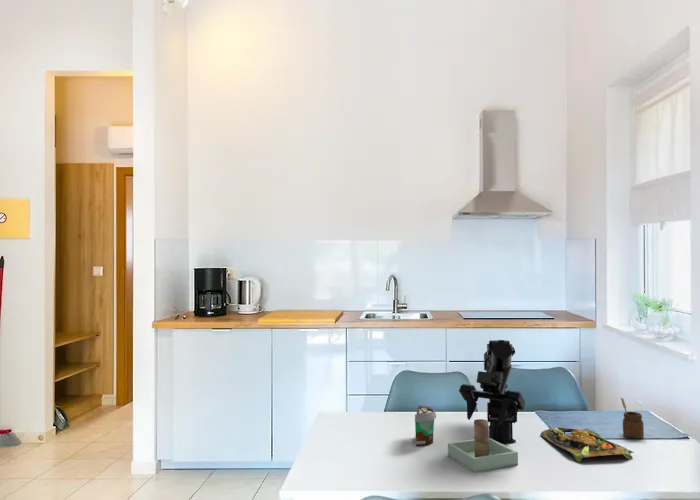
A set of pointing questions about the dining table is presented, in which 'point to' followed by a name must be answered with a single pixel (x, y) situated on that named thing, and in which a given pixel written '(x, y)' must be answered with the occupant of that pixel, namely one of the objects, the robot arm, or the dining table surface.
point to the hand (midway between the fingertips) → (482, 421)
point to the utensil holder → (632, 423)
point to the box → (496, 458)
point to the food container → (424, 425)
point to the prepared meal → (584, 443)
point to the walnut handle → (481, 437)
